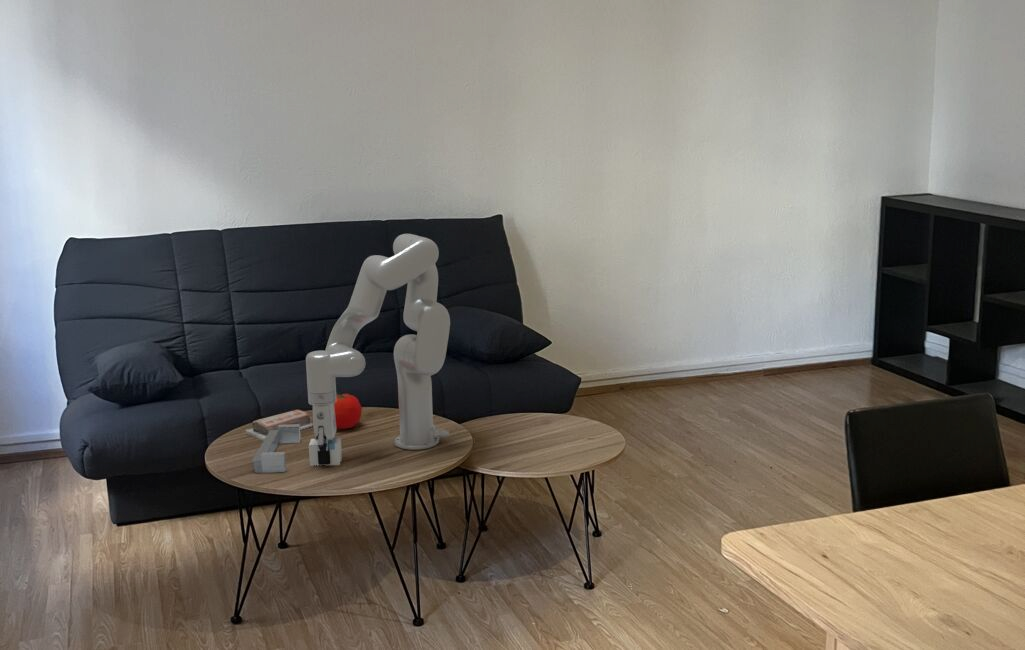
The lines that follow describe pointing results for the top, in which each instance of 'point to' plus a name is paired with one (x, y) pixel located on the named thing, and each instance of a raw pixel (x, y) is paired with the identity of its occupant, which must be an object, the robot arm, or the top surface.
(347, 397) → the tomato
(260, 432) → the packaged product
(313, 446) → the block
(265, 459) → the rail
